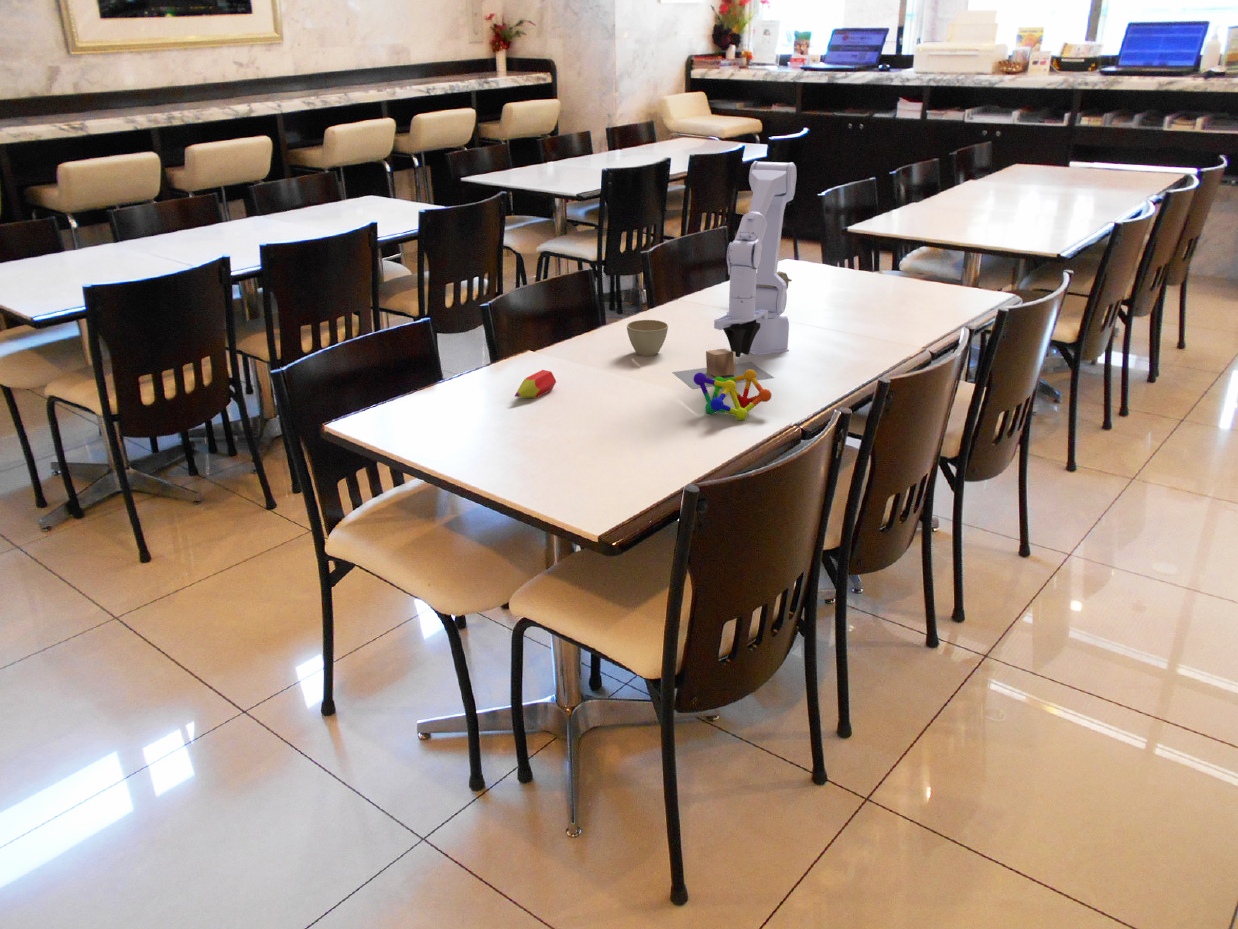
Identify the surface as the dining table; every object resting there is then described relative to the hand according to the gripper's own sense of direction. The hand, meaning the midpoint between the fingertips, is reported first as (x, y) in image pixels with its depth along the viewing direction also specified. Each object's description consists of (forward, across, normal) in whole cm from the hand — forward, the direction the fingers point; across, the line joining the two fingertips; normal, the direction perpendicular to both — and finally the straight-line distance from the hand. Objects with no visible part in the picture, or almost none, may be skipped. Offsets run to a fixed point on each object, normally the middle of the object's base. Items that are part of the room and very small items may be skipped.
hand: (740, 354), depth 212 cm
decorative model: (+5, +18, +16) cm, 24 cm away
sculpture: (+4, -42, -36) cm, 55 cm away
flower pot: (+5, +7, -26) cm, 27 cm away
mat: (+5, +4, -2) cm, 6 cm away
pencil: (+5, +44, -18) cm, 48 cm away
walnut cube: (+2, +1, -2) cm, 2 cm away
